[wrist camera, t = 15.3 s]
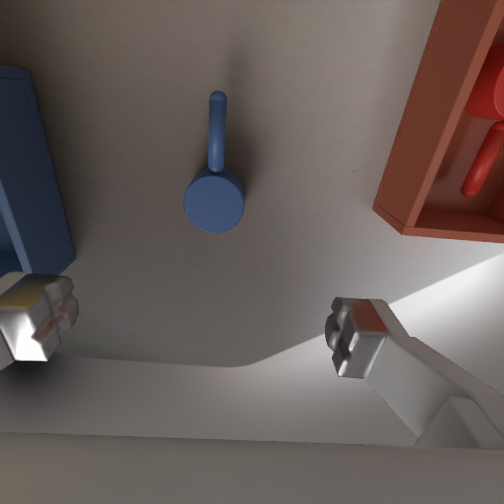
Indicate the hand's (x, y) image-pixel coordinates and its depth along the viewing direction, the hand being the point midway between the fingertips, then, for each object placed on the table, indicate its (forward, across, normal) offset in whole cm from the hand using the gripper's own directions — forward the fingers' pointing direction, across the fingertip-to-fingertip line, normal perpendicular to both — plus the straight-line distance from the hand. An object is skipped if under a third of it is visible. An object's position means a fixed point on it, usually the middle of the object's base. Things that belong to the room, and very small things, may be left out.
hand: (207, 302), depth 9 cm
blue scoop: (+13, +1, -2) cm, 13 cm away
